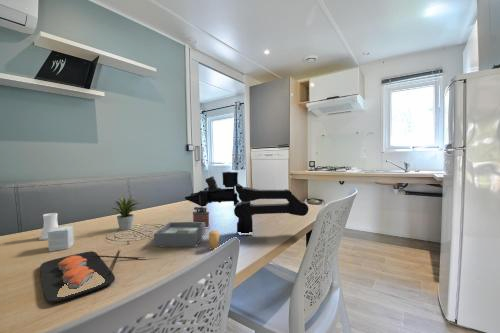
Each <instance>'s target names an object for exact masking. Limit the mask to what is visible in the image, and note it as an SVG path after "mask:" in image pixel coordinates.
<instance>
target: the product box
mask: <svg viewBox="0 0 500 333" xmlns="http://www.w3.org/2000/svg"><path fill="white" fill-rule="evenodd" d="M74 238H75V236H74V225H67V226H65V225H64V226H58V227H54V228H53V229H51V230H50V231H49V232H48V240H47V244H48V251H49V252H55V251H61V250H69V248H71V247H72V246H73V244H74V243H75V242H74Z"/></svg>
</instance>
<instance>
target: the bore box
mask: <svg viewBox="0 0 500 333" xmlns="http://www.w3.org/2000/svg"><path fill="white" fill-rule="evenodd" d="M204 233H205V234H206V228H205V222H193V221H177V222H176V221H169V222H168V223H166V224H165V225H164V226H162V227H161V228H160V229H159V230H157V231H156V232H154V233H153V245H154V246H196V245H197V244H198V245H199V243H200V242H201V240H202V239H203V237H204V236H205V234H204ZM203 235H204V236H203ZM202 236H203V237H202ZM201 238H202V239H201ZM200 239H201V240H200ZM199 241H200V242H199ZM198 242H199V243H198ZM198 245H197V246H198ZM154 246H153V247H154ZM197 246H196V247H197Z"/></svg>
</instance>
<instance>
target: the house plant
mask: <svg viewBox="0 0 500 333" xmlns="http://www.w3.org/2000/svg"><path fill="white" fill-rule="evenodd" d="M132 196H133V195H131V196H129V198H128V199H127V201H126V198H125V195H124V194H123V196H122V198H121V199H119V198H118V200H119V201H117V200H115V199H114V200H113V201H112V203H113V204H116V205H117V206H118V208H116V207H112V208H111V210H115V214H116V215H117V214H118V213H119V214H120V215H118V216H116V220H117V224H118V227H119V230H120V231H129V230H132V229H133V224H134V223H133V222H134V216H135V215H134V214H132V212H133V211H134V212H136V210H137V209H140V206H139V204H142V203H143V202H142V201H140V202H137V201H139V199H138V198H137V197H134V198H132ZM131 198H132V199H131ZM141 199H142V198H140V200H141ZM135 205H137V206H136V207H135Z"/></svg>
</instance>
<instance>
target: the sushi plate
mask: <svg viewBox="0 0 500 333" xmlns="http://www.w3.org/2000/svg"><path fill="white" fill-rule="evenodd" d="M120 254H121V250H120V251H119V250H118V251H117V254H116V256H115V255H114V256H113V255H99V254H98V253H97V252H96V251H91V250H90V251H86V252H85V251H84V252H81V253H75V254H72V255H71V254H70V255H67V256H63V257H62V256H61V257H58V258H55V259H50V260H46V261H44V262H43V263H40V264H41V265H39V272H40V276H41V277H40V278H41V284H42V289H43V296H44V298H45V300H46V302H49V303H56V302H62V301H65V300H69V299H72V298H75V297H77V296H80V295H83V294H86V293H90V292H92V291H96V290H99V289H101V288H104V287H105V286H106V287H107V286H108V285H111V284H113V283H114V282H115V280H116V276H115V275H114V273H113V271H114V267H115V266H116V263H117V261H118V259H129V260H130V259H131V260H132V259H133V260H139V259H138V258H145V257H141V256H120ZM102 258H115V259H114V262H113V265H112V267H111V269H110V268H109V267H108V265H107V264H106V263H105V262H104V260H103V259H102ZM94 272H97V273H98V274H99V275H101V276H102V277H103V278H104V279H105V282H104V283H102V284H101V285H98V286H96V287H93V288H90V289H87V290H84V291H81V292H78V293H75V294H71V295H68V296H65V297H57V294H58V291H59V289H60V288H62V286H64V284H66V285H67V283H68V285H67V286H68V288H69V289H77V288H79V287H80V286H82V285H83V284H84V283H85V282H87V281H88V280H89V279H90V278H92V277H93V274H94Z"/></svg>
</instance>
